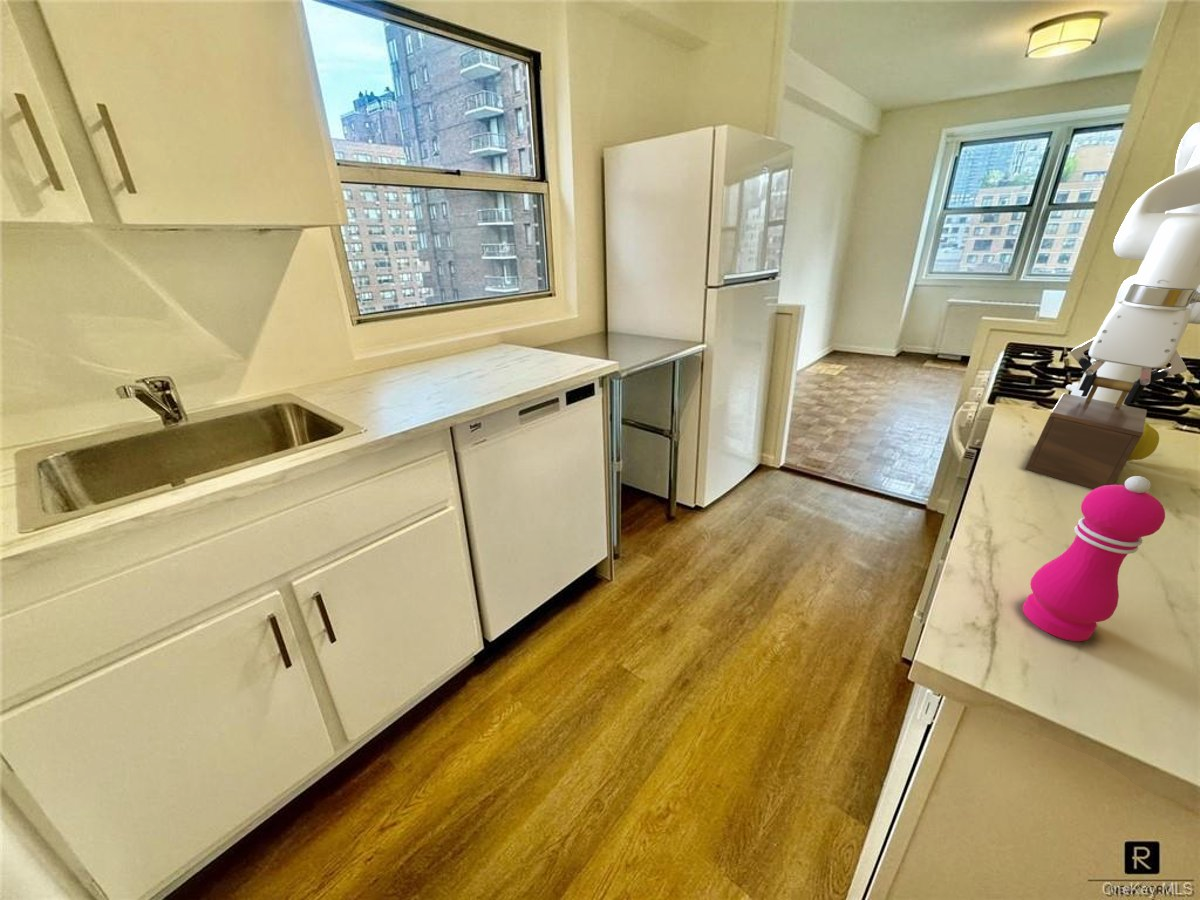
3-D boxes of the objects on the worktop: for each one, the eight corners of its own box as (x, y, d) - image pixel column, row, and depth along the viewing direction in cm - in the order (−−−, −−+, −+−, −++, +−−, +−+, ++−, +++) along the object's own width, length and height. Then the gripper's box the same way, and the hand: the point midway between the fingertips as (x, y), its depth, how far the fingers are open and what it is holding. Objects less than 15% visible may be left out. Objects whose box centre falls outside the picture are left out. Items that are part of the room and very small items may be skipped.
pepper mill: (1002, 598, 61) (1075, 459, 52) (1061, 599, 61) (1143, 460, 52) (1048, 644, 55) (1139, 495, 45) (1113, 646, 54) (1218, 497, 45)
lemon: (1100, 457, 95) (1120, 420, 92) (1115, 452, 97) (1135, 416, 94) (1136, 470, 91) (1159, 431, 87) (1151, 464, 93) (1174, 426, 89)
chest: (1037, 447, 99) (1060, 398, 94) (1114, 467, 92) (1144, 415, 87) (1024, 469, 91) (1049, 416, 86) (1108, 493, 83) (1140, 437, 79)
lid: (1061, 396, 95) (1074, 369, 92) (1144, 413, 87) (1161, 384, 85) (1049, 416, 86) (1063, 386, 83) (1140, 437, 78) (1159, 405, 76)
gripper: (1234, 301, 77) (1172, 407, 86) (1091, 288, 88) (1048, 383, 97) (1237, 307, 73) (1171, 418, 81) (1086, 293, 84) (1042, 391, 92)
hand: (1105, 398), depth 89 cm, fingers closed on lid, 5 cm apart
